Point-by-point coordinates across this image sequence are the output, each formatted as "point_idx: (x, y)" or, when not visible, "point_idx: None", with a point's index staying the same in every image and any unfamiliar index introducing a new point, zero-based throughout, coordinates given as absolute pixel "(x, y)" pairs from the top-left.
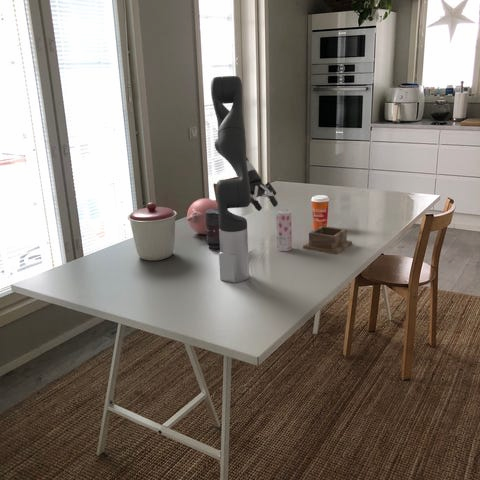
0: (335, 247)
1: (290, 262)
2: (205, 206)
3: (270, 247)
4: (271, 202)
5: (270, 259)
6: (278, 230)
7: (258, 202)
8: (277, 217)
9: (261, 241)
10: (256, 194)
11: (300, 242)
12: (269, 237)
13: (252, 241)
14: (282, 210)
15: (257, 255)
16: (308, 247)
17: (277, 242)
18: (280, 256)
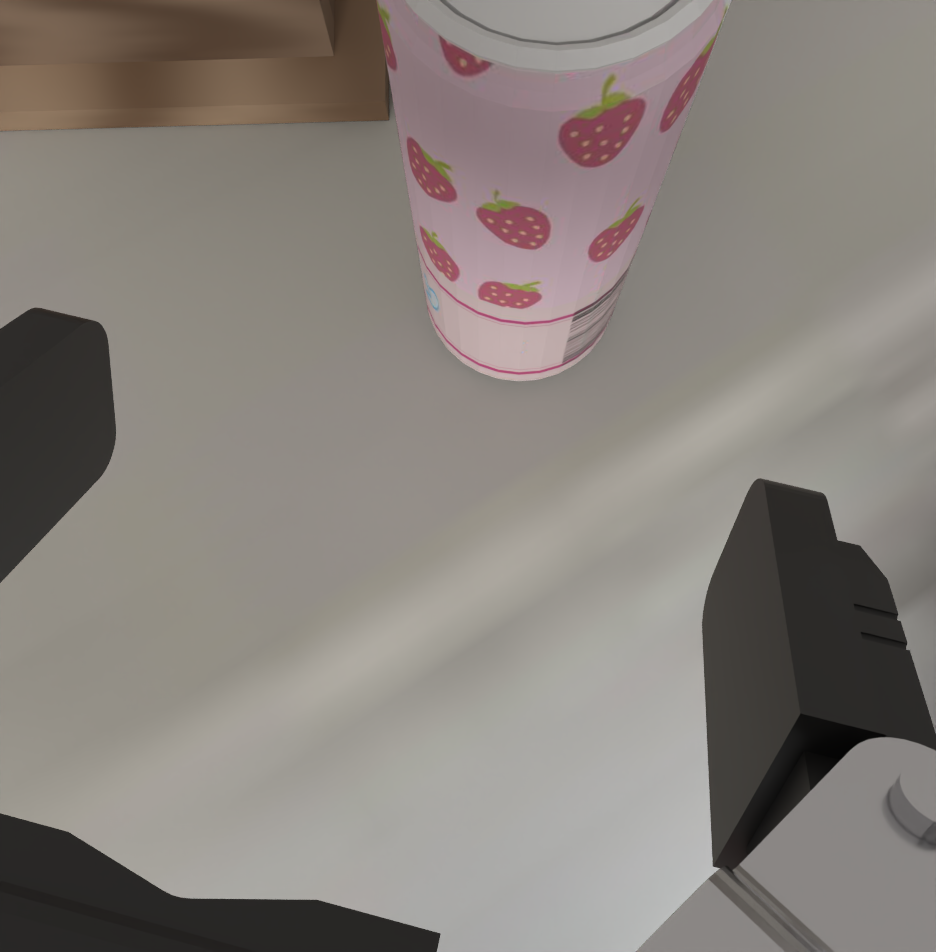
0: None
1: (875, 17)
2: None
3: (548, 483)
4: (9, 556)
5: (923, 247)
6: (658, 190)
7: (804, 623)
8: (706, 60)
9: (385, 738)
10: (765, 922)
11: (191, 257)
12: (171, 738)
13: (447, 861)
14: (440, 2)
15: (897, 458)
16: None
17: (608, 310)
18: (771, 203)
